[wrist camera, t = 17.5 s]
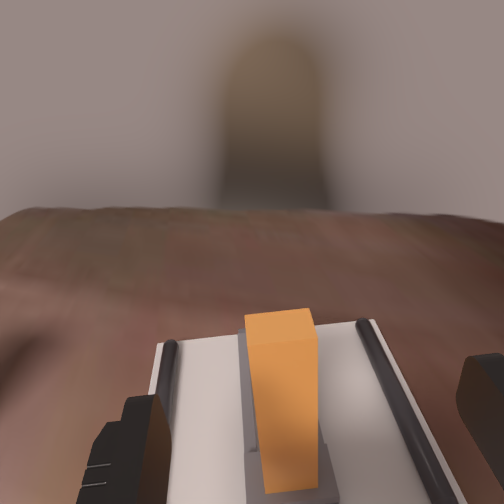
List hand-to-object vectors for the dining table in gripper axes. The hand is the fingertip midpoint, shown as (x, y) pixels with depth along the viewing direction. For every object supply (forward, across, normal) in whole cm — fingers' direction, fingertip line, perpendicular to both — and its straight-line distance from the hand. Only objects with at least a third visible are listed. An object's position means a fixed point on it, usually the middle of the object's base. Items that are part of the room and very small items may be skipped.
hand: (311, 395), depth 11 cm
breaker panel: (+12, 0, +18) cm, 21 cm away
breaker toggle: (+6, 0, +15) cm, 17 cm away
